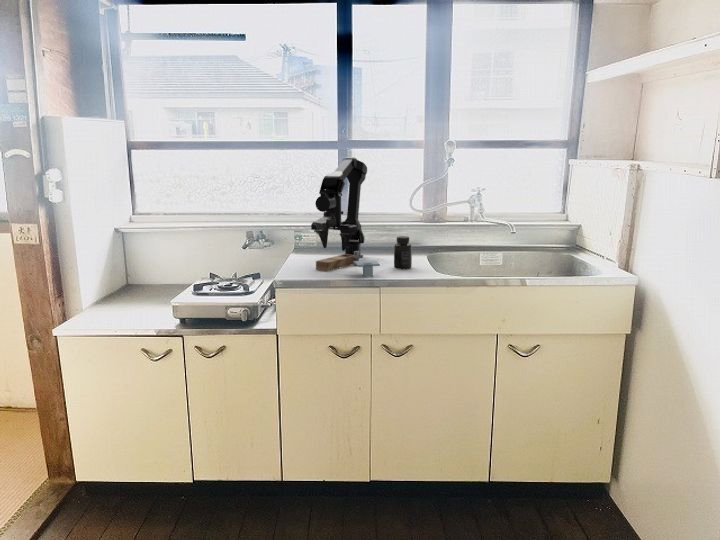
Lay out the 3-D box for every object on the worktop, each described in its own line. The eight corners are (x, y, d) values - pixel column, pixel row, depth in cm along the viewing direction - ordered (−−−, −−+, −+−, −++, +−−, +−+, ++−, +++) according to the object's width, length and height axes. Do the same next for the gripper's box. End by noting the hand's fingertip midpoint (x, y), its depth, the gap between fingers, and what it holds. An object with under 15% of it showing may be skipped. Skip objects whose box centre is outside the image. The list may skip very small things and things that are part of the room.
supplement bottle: (413, 266, 205) (414, 236, 203) (409, 270, 199) (409, 238, 196) (396, 265, 207) (396, 235, 205) (391, 268, 201) (392, 237, 198)
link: (327, 271, 197) (326, 262, 196) (316, 269, 200) (315, 261, 200) (356, 263, 211) (356, 255, 210) (345, 261, 214) (345, 253, 214)
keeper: (379, 276, 190) (379, 263, 189) (357, 277, 188) (357, 265, 187) (374, 271, 196) (374, 260, 195) (353, 272, 194) (353, 261, 193)
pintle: (356, 264, 209) (356, 250, 208) (360, 265, 208) (360, 251, 207) (352, 265, 207) (352, 251, 206) (357, 265, 206) (357, 252, 205)
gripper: (300, 209, 199) (301, 249, 202) (339, 212, 188) (339, 255, 191) (320, 206, 207) (321, 245, 211) (358, 209, 197) (358, 250, 200)
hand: (334, 249), depth 203 cm, fingers open, 9 cm apart
